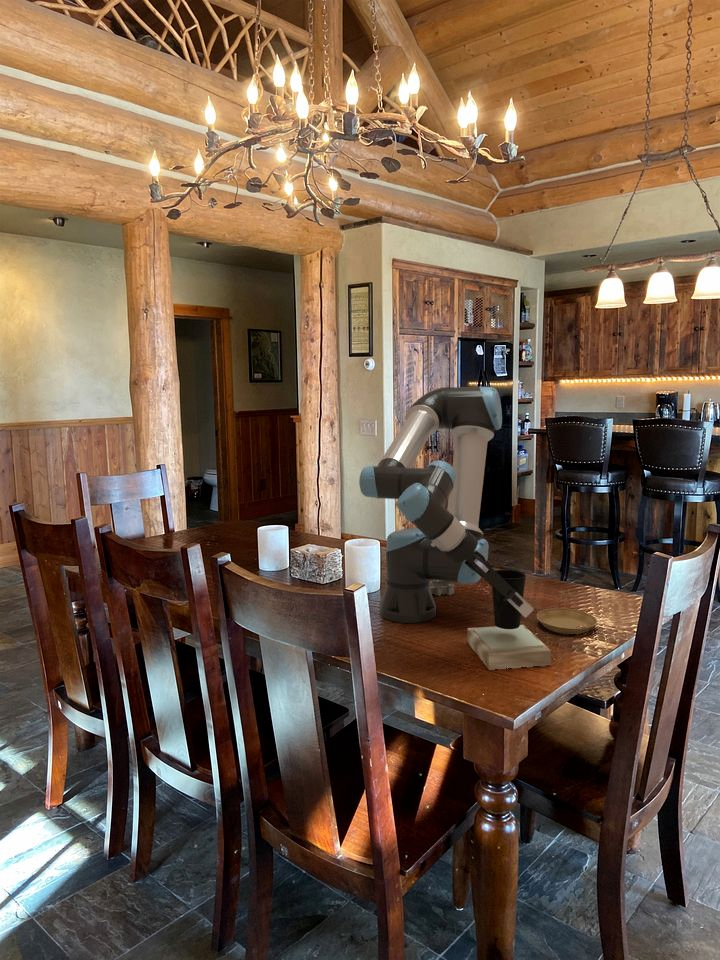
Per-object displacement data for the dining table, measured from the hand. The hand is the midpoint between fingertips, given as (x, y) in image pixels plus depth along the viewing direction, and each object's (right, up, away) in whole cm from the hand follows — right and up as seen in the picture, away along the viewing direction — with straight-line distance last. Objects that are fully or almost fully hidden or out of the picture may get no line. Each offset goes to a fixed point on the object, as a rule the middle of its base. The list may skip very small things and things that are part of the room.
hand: (522, 606), depth 149 cm
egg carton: (-14, -5, +47) cm, 49 cm away
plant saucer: (+16, -9, +18) cm, 25 cm away
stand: (-3, -11, +1) cm, 12 cm away
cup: (-3, -4, 0) cm, 6 cm away
